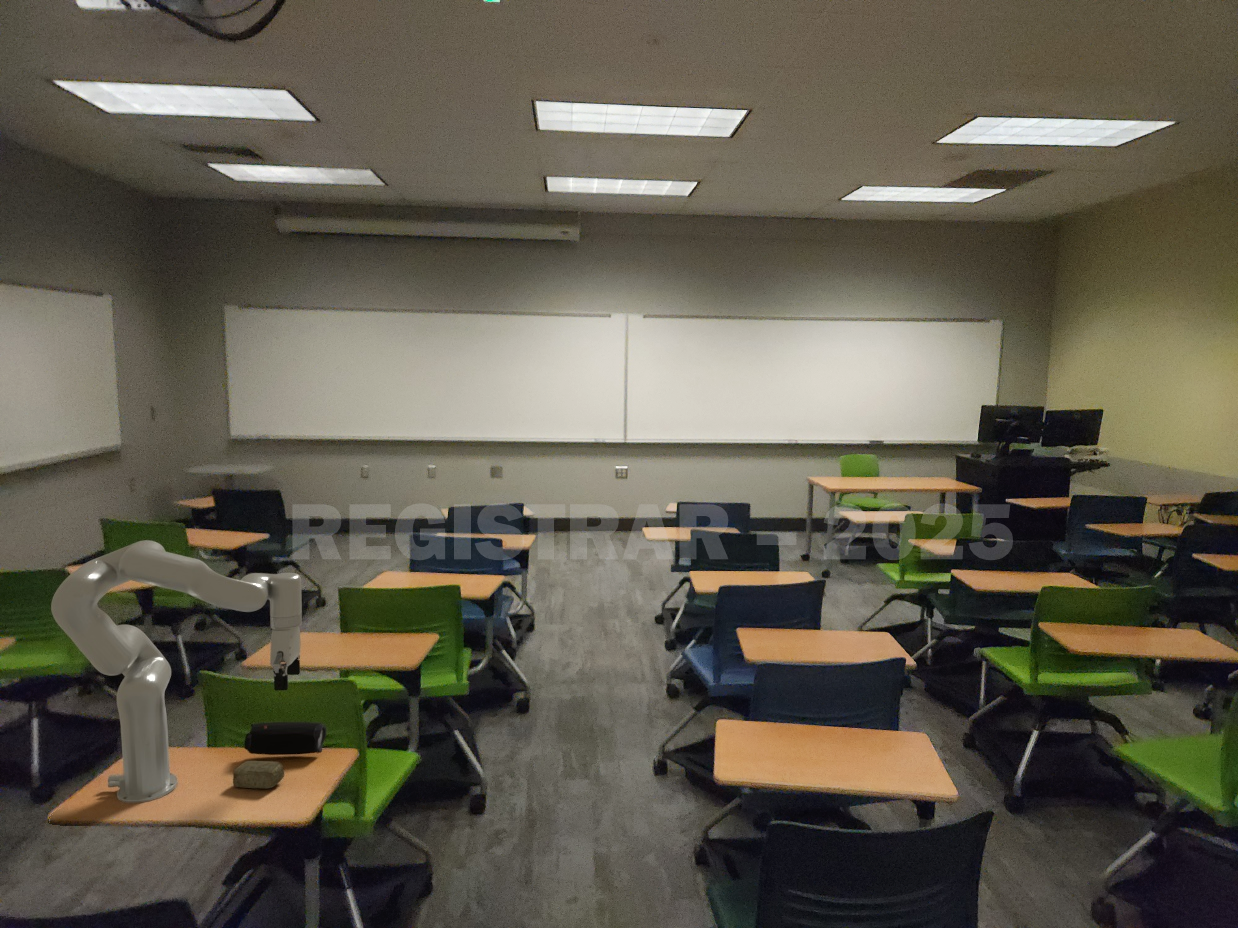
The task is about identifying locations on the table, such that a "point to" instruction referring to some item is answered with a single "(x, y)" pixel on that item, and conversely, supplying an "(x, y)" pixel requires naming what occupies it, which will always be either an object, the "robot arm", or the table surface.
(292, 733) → the portable speaker
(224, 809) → the table surface
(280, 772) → the stone block
